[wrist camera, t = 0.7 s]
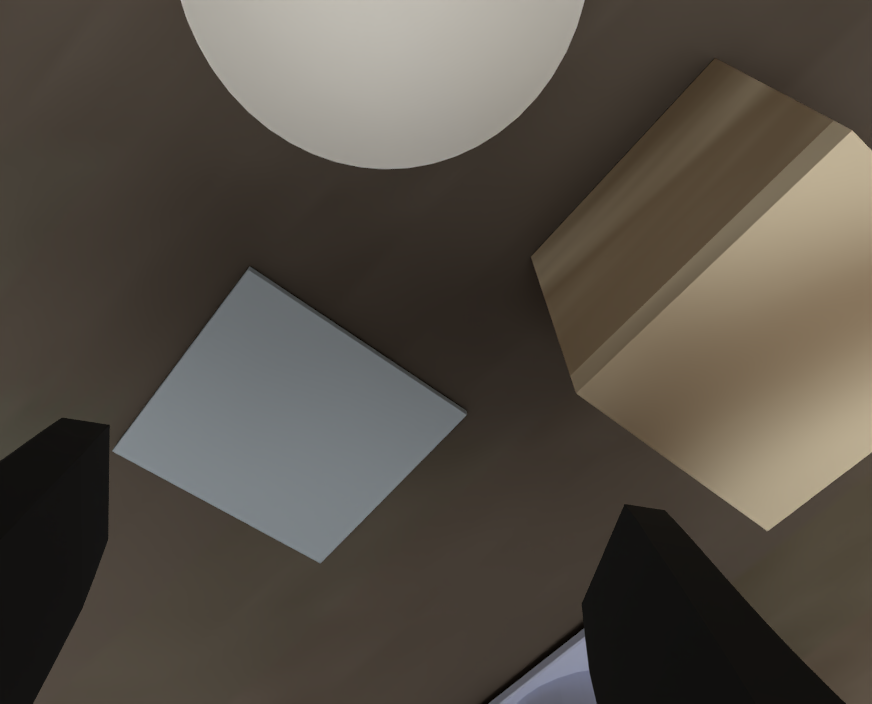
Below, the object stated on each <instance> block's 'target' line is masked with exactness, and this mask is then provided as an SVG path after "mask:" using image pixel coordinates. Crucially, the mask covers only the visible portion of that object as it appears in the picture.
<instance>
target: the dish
mask: <svg viewBox="0 0 872 704" xmlns="http://www.w3.org/2000/svg"><path fill="white" fill-rule="evenodd" d="M584 1H585V0H181V3H182V6H183V9H184V12H185V16H186V18H187V21H188V23H189V25H190V28H191V30H192V32H193V34H194V37H195V39H196V41H197V44H198V45H199V47H200V49H201V51H202V52H203V54H204V56H205V58H206V59H207V61H208V63H209V64H210V66H211V68H212V69H213V71H214V72H215V74H216V75H217V76H218V78H219V79H220V80H221V82H222V83H223V84H224V86H225V87H226V88H227V90H228V91H229V92H230V93H231V94H232V95H233V96H234V97H235V99H236V100H237V101H238V102H239V103H240V104H241V105H242V106H243V107H244V108H245V109H246V110H247V111H248V112H249V113H250V114H251V115H252V116H254V117H255V118H256V119H257V120H258V121H260V122H261V123H262V124H263V125H264V126H266V127H267V128H268V129H269V130H271V131H273V132H274V133H276V134H277V135H279V136H280V137H282V138H283V139H285V140H286V141H288V142H289V143H291V144H293V145H295V146H297V147H299V148H301V149H303V150H306V151H308V152H310V153H312V154H314V155H317V156H320V157H323V158H326V159H328V160H331V161H334V162H338V163H342V164H347V165H352V166H357V167H363V168H376V169H400V168H412V167H417V166H423V165H429V164H433V163H437V162H440V161H443V160H446V159H449V158H452V157H456V156H458V155H460V154H462V153H464V152H466V151H468V150H471V149H473V148H475V147H477V146H479V145H480V144H482V143H484V142H485V141H487V140H488V139H490V138H492V137H493V136H495V135H496V134H498V133H499V132H501V131H502V130H503V129H504V128H505V127H507V126H508V125H509V124H510V123H512V122H513V121H514V120H515V119H516V118H518V117H519V116H520V115H521V114H522V113H523V112H524V111H525V109H526V108H527V107H528V106H529V105H530V104H531V103H532V102H533V101H534V100H535V99H536V98H537V97H538V95H539V94H540V93H541V91H542V90H543V88H544V87H545V86H546V84H547V83H548V82H549V80H550V79H551V78H552V76H553V75H554V73H555V71H556V69H557V68H558V66H559V64H560V62H561V61H562V59H563V57H564V55H565V54H566V51H567V49H568V47H569V44H570V42H571V40H572V37H573V35H574V33H575V30H576V28H577V25H578V22H579V18H580V15H581V11H582V8H583V5H584Z"/></svg>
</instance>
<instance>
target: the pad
mask: <svg viewBox="0 0 872 704" xmlns="http://www.w3.org/2000/svg"><path fill="white" fill-rule="evenodd" d="M466 415H467V411H466V410H465V409H463V408H462V407H460V406H459V405H457V404H456V403H454V402H453V401H451V400H450V399H448V398H447V397H445V396H444V395H442V394H441V393H439V392H438V391H436V390H435V389H433V388H432V387H430V386H429V385H427V384H426V383H424V382H423V381H421V380H420V379H418V378H417V377H415V376H414V375H412V374H411V373H409V372H408V371H406V370H405V369H403V368H402V367H400V366H399V365H397V364H396V363H394V362H393V361H391V360H390V359H388V358H387V357H385V356H384V355H382V354H381V353H379V352H378V351H376V350H375V349H373V348H372V347H370V346H369V345H367V344H366V343H364V342H363V341H361V340H360V339H358V338H357V337H355V336H354V335H352V334H351V333H349V332H348V331H346V330H344V329H343V328H341V327H340V326H338V325H337V324H335V323H334V322H332V321H331V320H329V319H328V318H326V317H325V316H323V315H322V314H320V313H319V312H317V311H316V310H314V309H313V308H311V307H310V306H308V305H307V304H305V303H304V302H302V301H301V300H299V299H298V298H296V297H295V296H293V295H292V294H290V293H289V292H287V291H286V290H284V289H283V288H281V287H280V286H278V285H277V284H275V283H274V282H272V281H271V280H269V279H268V278H266V277H265V276H263V275H262V274H260V273H259V272H257V271H256V270H254V269H253V268H251V267H250V266H249V268H248V269H247V270H246V272H245V273H244V274H243V276H242V277H241V279H240V280H239V281H238V283H237V284H236V285H235V287H234V288H233V289H232V291H231V292H230V293H229V295H228V296H227V297H226V299H225V300H224V301H223V303H222V304H221V305H220V307H219V308H218V309H217V311H216V312H215V313H214V315H213V316H212V317H211V319H210V320H209V321H208V323H207V324H206V325H205V327H204V328H203V329H202V331H201V332H200V333H199V335H198V336H197V337H196V339H195V340H194V341H193V343H192V344H191V345H190V347H189V348H188V349H187V351H186V352H185V353H184V355H183V356H182V357H181V359H180V360H179V361H178V363H177V364H176V365H175V367H174V368H173V369H172V371H171V372H170V374H169V375H168V376H167V378H166V379H165V380H164V382H163V383H162V384H161V386H160V387H159V388H158V390H157V391H156V392H155V394H154V395H153V396H152V398H151V399H150V400H149V402H148V403H147V404H146V406H145V407H144V408H143V410H142V411H141V412H140V414H139V415H138V416H137V418H136V419H135V420H134V422H133V423H132V424H131V426H130V427H129V428H128V430H127V431H126V432H125V434H124V435H123V436H122V438H121V439H120V440H119V442H118V443H117V444H116V446H115V447H114V449H113V452H115V453H117V454H118V455H120V456H122V457H124V458H126V459H128V460H130V461H131V462H133V463H135V464H137V465H139V466H141V467H143V468H144V469H146V470H148V471H150V472H152V473H154V474H156V475H157V476H159V477H161V478H163V479H165V480H167V481H169V482H170V483H172V484H174V485H176V486H178V487H180V488H182V489H183V490H185V491H187V492H189V493H191V494H193V495H195V496H196V497H198V498H200V499H202V500H204V501H206V502H208V503H209V504H211V505H213V506H215V507H217V508H219V509H221V510H222V511H224V512H226V513H228V514H230V515H232V516H234V517H235V518H237V519H239V520H241V521H243V522H245V523H247V524H248V525H250V526H252V527H254V528H256V529H258V530H260V531H261V532H263V533H265V534H267V535H269V536H271V537H273V538H274V539H276V540H278V541H280V542H282V543H284V544H286V545H287V546H289V547H291V548H293V549H295V550H297V551H299V552H300V553H302V554H304V555H306V556H308V557H310V558H312V559H313V560H315V561H317V562H319V563H321V562H322V561H323V560H324V559H325V558H326V557H327V556H328V555H329V554H330V553H331V552H332V551H333V550H334V549H335V548H336V547H337V546H338V545H339V544H340V543H341V542H342V541H343V540H344V539H345V538H346V537H347V536H348V535H349V534H350V533H351V532H352V531H353V530H354V529H355V528H356V527H357V526H358V525H359V524H360V523H361V522H362V521H363V520H364V519H365V518H366V517H367V516H368V515H369V514H370V513H371V512H372V511H373V510H374V509H375V508H376V507H377V505H378V504H379V503H380V502H381V501H382V500H383V499H384V498H385V497H386V496H387V495H388V494H389V493H390V492H391V491H392V490H393V489H394V488H395V487H396V486H397V485H398V484H399V483H400V482H401V481H402V480H403V479H404V478H405V477H406V476H407V475H408V474H409V473H410V472H411V471H412V470H413V469H414V468H415V467H416V466H417V465H418V464H419V463H420V462H421V461H422V460H423V459H424V458H425V457H426V456H427V455H428V454H429V453H430V452H431V451H432V450H433V449H434V448H435V447H436V446H437V445H438V444H439V443H440V442H441V441H442V440H443V439H444V438H445V437H446V436H447V435H448V434H449V433H450V432H451V431H452V430H453V429H454V427H455V426H456V425H457V424H458V423H459V422H460V421H461V420H462V419H463V418H464V417H465V416H466Z"/></svg>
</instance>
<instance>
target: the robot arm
mask: <svg viewBox="0 0 872 704" xmlns="http://www.w3.org/2000/svg"><path fill="white" fill-rule="evenodd" d="M109 428H110V425H106V424H100V423H93V422H87V421H80V420H74V419H67V418H61V419H59V420H58V421H56V422H55V423H53V424H52V425H50V426H49V427H47V428H46V429H44V430H43V431H42V432H40V433H39V434H37V435H36V436H35V437H33V438H32V439H30V440H29V441H28V442H26V443H25V444H23V445H22V446H21V447H19V448H18V449H16V450H15V451H14V452H12V453H11V454H9V455H8V456H7V457H5V458H4V459H2V460H1V461H0V704H33V702H34V700H35V699H36V697H37V695H38V693H39V691H40V689H41V687H42V685H43V683H44V681H45V679H46V678H47V676H48V674H49V672H50V670H51V668H52V666H53V664H54V662H55V660H56V658H57V657H58V655H59V653H60V651H61V649H62V647H63V645H64V643H65V641H66V639H67V637H68V635H69V633H70V631H71V629H72V627H73V626H74V624H75V622H76V620H77V618H78V616H79V614H80V612H81V610H82V608H83V605H84V602H85V600H86V597H87V595H88V592H89V590H90V587H91V584H92V582H93V579H94V577H95V574H96V571H97V568H98V566H99V563H100V560H101V557H102V555H103V552H104V549H105V546H106V544H107V541H108V506H109ZM582 611H583V621H584V629H582V630H581V631H580V632H579V633H577V634H576V635H575V636H574V637H572V638H571V639H570V640H569V641H567V642H566V643H565V644H563V645H562V646H561V647H560V648H558V649H557V650H556V651H555V652H553V653H552V654H551V655H549V656H548V657H547V658H546V659H544V660H543V661H542V662H541V663H539V664H538V665H537V666H535V667H534V668H533V669H532V670H530V671H529V672H528V673H527V674H525V675H524V676H523V677H521V678H520V679H519V680H518V681H516V682H515V683H514V684H513V685H511V686H510V687H509V688H508V689H506V690H505V691H504V692H502V693H501V694H500V695H499V696H497V697H496V698H495V699H494V700H492V701H491V702H490V703H488V704H846V703H845V702H844V701H842V700H841V699H840V698H839V697H838V696H837V695H836V694H835V693H834V692H833V691H832V690H831V689H830V688H829V687H828V686H827V685H826V684H825V683H824V682H823V681H822V680H821V679H820V678H819V677H818V676H817V675H816V674H815V673H814V672H813V671H812V670H811V669H810V668H809V667H808V666H807V665H806V664H805V663H804V662H803V661H802V660H801V659H800V658H799V657H798V656H797V655H796V654H795V653H794V652H793V651H792V650H791V649H790V647H789V646H788V645H787V644H786V643H785V642H784V641H783V640H782V639H781V638H780V637H779V636H778V635H777V634H776V633H775V632H774V631H773V630H772V628H771V627H770V626H769V625H768V624H767V623H766V622H765V621H764V620H763V619H762V618H761V617H760V615H759V614H758V613H757V612H756V611H755V610H754V609H753V608H752V607H751V606H750V604H749V603H748V602H747V601H746V600H745V599H744V598H743V597H742V596H741V594H740V593H739V592H738V591H737V590H736V589H735V588H734V587H733V585H732V584H731V583H730V582H729V581H728V580H727V579H726V578H725V576H724V575H723V574H722V573H721V572H720V571H719V570H718V569H717V567H716V566H715V565H714V564H713V563H712V562H711V561H710V559H709V558H708V557H707V556H706V555H705V554H704V553H703V551H702V550H701V549H700V548H699V547H698V546H697V545H696V544H695V542H694V541H693V540H692V539H691V538H690V537H689V536H688V535H687V534H686V532H685V531H684V530H683V529H682V528H681V527H680V526H679V525H678V524H677V523H676V522H675V520H674V519H673V518H672V517H671V516H670V515H669V514H668V513H667V512H666V511H665V510H659V509H652V508H646V507H639V506H633V505H626V504H625V505H624V507H623V509H622V512H621V514H620V516H619V519H618V521H617V523H616V526H615V528H614V530H613V532H612V535H611V537H610V539H609V542H608V544H607V546H606V549H605V551H604V553H603V556H602V558H601V560H600V563H599V565H598V567H597V570H596V572H595V574H594V577H593V579H592V581H591V584H590V586H589V588H588V591H587V593H586V595H585V598H584V600H583V602H582Z"/></svg>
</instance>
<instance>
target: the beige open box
mask: <svg viewBox="0 0 872 704" xmlns="http://www.w3.org/2000/svg"><path fill="white" fill-rule="evenodd" d="M531 259H532V262H533V265H534V268H535V271H536V274H537V277H538V280H539V283H540V286H541V289H542V292H543V295H544V298H545V301H546V304H547V307H548V310H549V313H550V316H551V319H552V322H553V325H554V328H555V331H556V334H557V337H558V340H559V343H560V346H561V349H562V353H563V356H564V359H565V362H566V365H567V368H568V371H569V374H570V377H571V380H572V383H573V386H574V389H575V392H576V394H578V395H579V396H580V397H582V398H583V399H585V400H586V401H587V402H589V403H590V404H592V405H593V406H594V407H596V408H597V409H598V410H600V411H601V412H603V413H604V414H605V415H607V416H608V417H610V418H611V419H612V420H614V421H615V422H617V423H618V424H619V425H621V426H622V427H623V428H625V429H626V430H628V431H629V432H630V433H632V434H633V435H635V436H636V437H637V438H639V439H640V440H642V441H643V442H644V443H646V444H647V445H649V446H650V447H651V448H653V449H654V450H655V451H657V452H658V453H660V454H661V455H662V456H664V457H665V458H667V459H668V460H669V461H671V462H672V463H674V464H675V465H676V466H678V467H679V468H680V469H682V470H683V471H685V472H686V473H687V474H689V475H690V476H692V477H693V478H694V479H696V480H697V481H699V482H700V483H701V484H703V485H704V486H705V487H707V488H708V489H710V490H711V491H712V492H714V493H715V494H717V495H718V496H719V497H721V498H722V499H724V500H725V501H726V502H728V503H729V504H731V505H732V506H733V507H735V508H736V509H737V510H739V511H740V512H742V513H743V514H744V515H746V516H747V517H749V518H750V519H751V520H753V521H754V522H756V523H757V524H758V525H760V526H761V527H762V528H764V529H765V530H767V531H768V530H770V529H771V528H772V527H774V526H775V525H776V524H778V523H779V522H780V521H782V520H783V519H784V518H786V517H787V516H788V515H790V514H791V513H792V512H794V511H795V510H796V509H798V508H799V507H800V506H801V505H803V504H804V503H805V502H807V501H808V500H809V499H811V498H812V497H813V496H815V495H816V494H817V493H819V492H820V491H821V490H823V489H824V488H825V487H827V486H828V485H829V484H830V483H832V482H833V481H834V480H836V479H837V478H838V477H840V476H841V475H842V474H844V473H845V472H846V471H848V470H849V469H850V468H852V467H853V466H854V465H856V464H857V463H858V462H859V461H861V460H862V459H863V458H865V457H866V456H867V455H869V454H870V453H871V452H872V151H871V150H870V148H869V147H868V146H867V145H866V144H865V143H864V142H863V141H862V140H861V139H860V138H859V137H858V136H857V135H856V134H855V133H854V132H853V131H852V130H850V129H849V128H847V127H845V126H843V125H841V124H839V123H837V122H835V121H833V120H832V119H830V118H828V117H826V116H824V115H822V114H820V113H818V112H816V111H815V110H813V109H811V108H809V107H807V106H805V105H803V104H801V103H799V102H797V101H796V100H794V99H792V98H790V97H788V96H786V95H784V94H782V93H780V92H779V91H777V90H775V89H773V88H771V87H769V86H767V85H765V84H763V83H762V82H760V81H758V80H756V79H754V78H752V77H750V76H748V75H746V74H744V73H743V72H741V71H739V70H737V69H735V68H733V67H731V66H729V65H727V64H726V63H724V62H722V61H720V60H718V59H716V58H715V59H714V60H713V61H712V62H711V63H710V64H709V65H708V66H707V67H706V68H705V69H704V71H703V72H702V73H701V74H700V75H699V76H698V77H697V78H696V79H695V80H694V81H693V82H692V84H691V85H690V86H689V87H688V88H687V89H686V90H685V91H684V92H683V93H682V94H681V95H680V96H679V98H678V99H677V100H676V101H675V102H674V103H673V104H672V105H671V106H670V107H669V108H668V109H667V110H666V112H665V113H664V114H663V115H662V116H661V117H660V118H659V119H658V120H657V121H656V122H655V123H654V125H653V126H652V127H651V128H650V129H649V130H648V131H647V132H646V133H645V134H644V135H643V136H642V137H641V139H640V140H639V141H638V142H637V143H636V144H635V145H634V146H633V147H632V148H631V149H630V150H629V151H628V153H627V154H626V155H625V156H624V157H623V158H622V159H621V160H620V161H619V162H618V163H617V164H616V166H615V167H614V168H613V169H612V170H611V171H610V172H609V173H608V174H607V175H606V176H605V177H604V178H603V180H602V181H601V182H600V183H599V184H598V185H597V186H596V187H595V188H594V189H593V190H592V191H591V192H590V194H589V195H588V196H587V197H586V198H585V199H584V200H583V201H582V202H581V203H580V204H579V205H578V207H577V208H576V209H575V210H574V211H573V212H572V213H571V214H570V215H569V216H568V217H567V218H566V219H565V221H564V222H563V223H562V224H561V225H560V226H559V227H558V228H557V229H556V230H555V231H554V232H553V234H552V235H551V236H550V237H549V238H548V239H547V240H546V241H545V242H544V243H543V244H542V245H541V246H540V248H539V249H538V250H537V251H536V252H535V253H534V254H533V255H532V256H531Z"/></svg>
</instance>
